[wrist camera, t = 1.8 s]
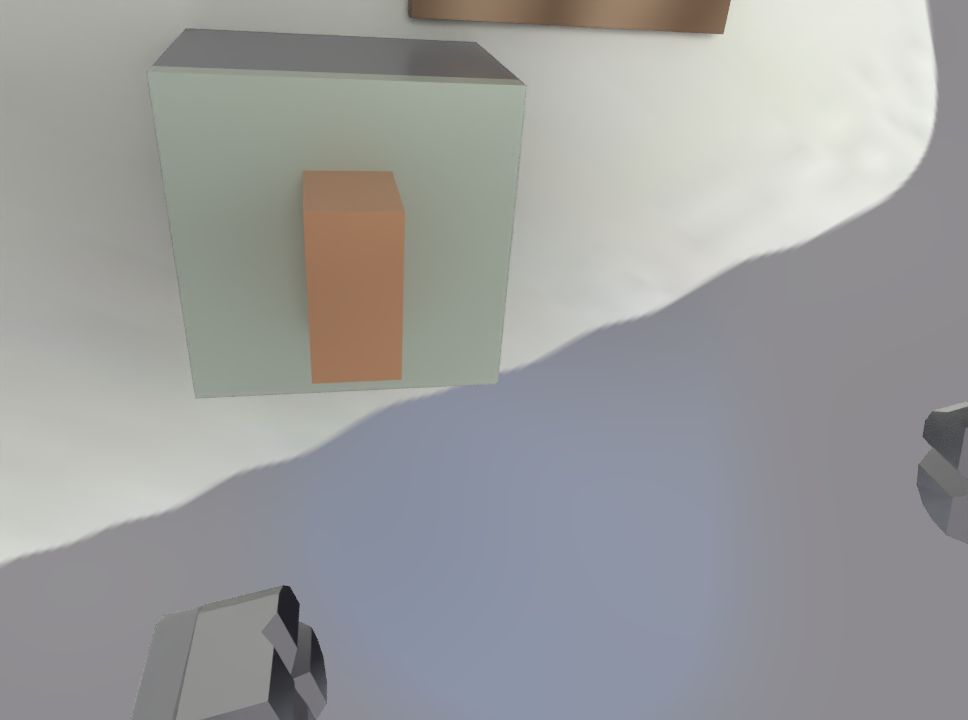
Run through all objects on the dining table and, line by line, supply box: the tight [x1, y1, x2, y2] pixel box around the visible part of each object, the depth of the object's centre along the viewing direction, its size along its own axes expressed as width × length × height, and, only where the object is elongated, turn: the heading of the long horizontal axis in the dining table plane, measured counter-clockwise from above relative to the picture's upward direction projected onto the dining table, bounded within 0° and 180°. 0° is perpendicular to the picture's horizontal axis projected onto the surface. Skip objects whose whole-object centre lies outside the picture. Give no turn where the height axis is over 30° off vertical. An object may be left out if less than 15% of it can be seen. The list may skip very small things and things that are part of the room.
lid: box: [147, 66, 527, 398], centre depth 26 cm, size 12×12×6 cm
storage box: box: [153, 29, 519, 80], centre depth 31 cm, size 12×12×8 cm
